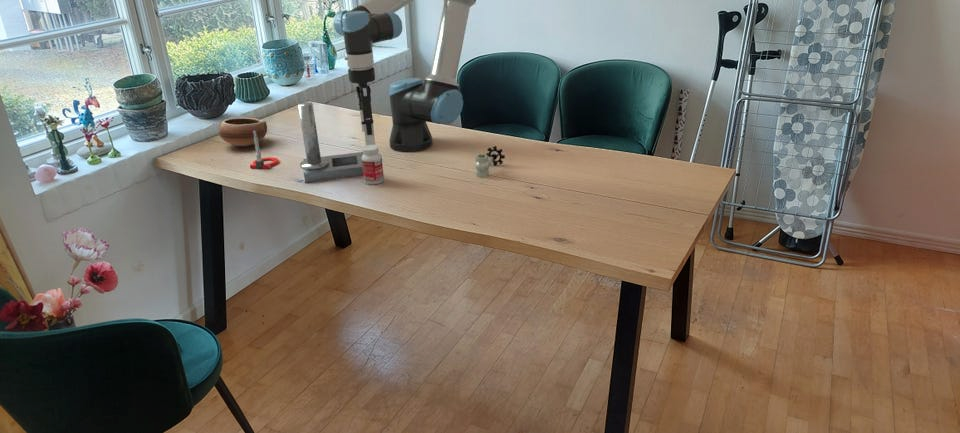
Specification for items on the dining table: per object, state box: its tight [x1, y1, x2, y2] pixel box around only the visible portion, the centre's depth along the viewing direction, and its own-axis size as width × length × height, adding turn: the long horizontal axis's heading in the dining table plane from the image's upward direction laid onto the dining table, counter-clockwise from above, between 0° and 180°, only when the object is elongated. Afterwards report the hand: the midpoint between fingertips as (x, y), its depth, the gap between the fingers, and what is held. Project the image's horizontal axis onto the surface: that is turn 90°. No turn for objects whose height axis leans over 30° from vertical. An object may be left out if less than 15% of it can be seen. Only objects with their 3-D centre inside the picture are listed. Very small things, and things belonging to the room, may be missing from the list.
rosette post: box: [297, 101, 364, 184], centre depth 216 cm, size 21×14×23 cm, turn 103°
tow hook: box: [249, 131, 280, 169], centre depth 228 cm, size 8×13×9 cm
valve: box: [475, 145, 506, 179], centre depth 214 cm, size 7×7×12 cm
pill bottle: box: [362, 145, 385, 185], centre depth 210 cm, size 6×6×11 cm
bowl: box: [219, 117, 268, 147], centre depth 247 cm, size 16×16×10 cm
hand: (368, 137), depth 206 cm, fingers open, 13 cm apart
